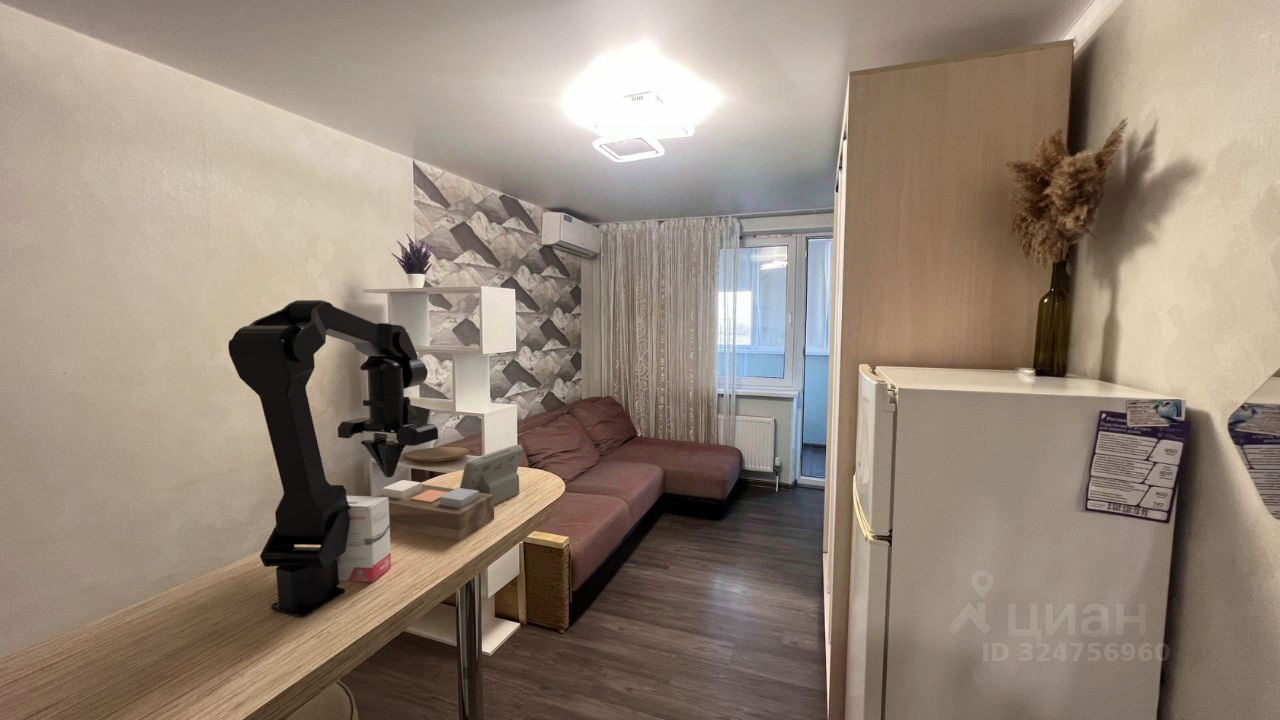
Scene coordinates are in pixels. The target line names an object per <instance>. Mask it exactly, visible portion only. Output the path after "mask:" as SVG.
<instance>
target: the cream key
mask: <svg viewBox="0 0 1280 720" xmlns="http://www.w3.org/2000/svg"><path fill="white" fill-rule="evenodd" d="M422 484H423V483H422V482H419V481H412V480H404V479H402V480H399V481H397V482H394V483H391V484H389V485H386V486H384V487H382V492H383V496H385V497H391V498H397V499H405V498H407V497H409V496H411V495H413V494H415V493H418V492H420V491H422Z"/></svg>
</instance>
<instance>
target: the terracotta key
mask: <svg viewBox="0 0 1280 720" xmlns="http://www.w3.org/2000/svg"><path fill="white" fill-rule="evenodd" d="M446 493H448V492H443V491H437V490H428V491H426V492H423V493H421V494H419V495H417V496H415V497H413V498H411V501H416V502H422V503H429V504H433V503H435V502H437V501H439V500H440V496H442V495H444V494H446Z"/></svg>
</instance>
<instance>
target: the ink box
mask: <svg viewBox="0 0 1280 720" xmlns="http://www.w3.org/2000/svg"><path fill="white" fill-rule="evenodd" d="M346 496H347V502H348V504H349V506H350V509H349V510H348V512H349V516H350V525H349V531H348V537H347V544H346V550H345V552H344V553H343V554H342V555H341V556H339V557H338V558H337V560H338V575H339V581H341V582H342V581H344V582H345V581H346V582H365V583H374V582H375V581H376V580H377V579H379V578H380V576H382V575H383V574H384V573H385V572H387V571H388V570H389V569H390V568H391V567H392V560H391V559H392V557H391V528H390V524H389V498H388V497H372V496H369V495H367V496H366V495H346Z"/></svg>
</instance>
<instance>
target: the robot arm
mask: <svg viewBox="0 0 1280 720" xmlns="http://www.w3.org/2000/svg"><path fill="white" fill-rule="evenodd" d="M327 336H329V337H332V338H335V339H338V340H341V341H345V342H347V343H351V344H353V345H354V348H355V350H356V351H358V352H360V353H362V355H365V356H367V359H366V361H364V362H363V363H362V364H361V365H360V368H359V369H360V370H361V371H367V372H366V375H367V393H368V395H367V396H368V399H363V400H362V405H363V406H364V407H368V417H359V418H355V419H350V420H349V419H348V420H344V421H342V422H340V424H339V426H338V427H337V437H338V438H340V439H352V438H353V436H354V435H355V434H363V435H364V436H363V437H364V440H361V441H360V445H362V446H364V447H365V449H366V450H367V451H368V452H369V454H370V456H371V457H372V458H373V460H374V461H375V462H376V464H377V466H378V467H379V468H380V470H381V472H382V474H383V475H384V477H385V478H392V477H394V475H395V473H396V469H397V467H398V464H399V461H400V458H401V456H402V452H403V451H404V448H405V447H406V446H409V447H413V446H419V445H421V444H423V445H424V444H426V443H429V442H431V441H435V440H438V439H439V429H438V426H437V425H435V423H428V422H429V416H430V413H431V409H430V408H425V407H422V406H418V405H413V404H411V398H410V397H409V396H405V395H404V393H405V392H404V390H405V389H408V388H412V387H416V386H419V385H422V384H423V383H424V382H425V381H426V380H427V377H428V368H427V366H426V364H425V363H424V362H423V361H422V360H420V359H419V356H418V353H417V351H416V349H415V347H414V344H413V341H412V339H411V337H410V335H409V333H408V332H407V329H406V328H405V327H404V326H403V325H402V324H399V323H398V324H397V323H389V322H388V323H387V322H374V321H371V320H369V319H366V318H363V317H361V316H358V315H356V314H354V313H352V312H349V311H347V310H345V309H342V308H339V307H337V306H335V305H333V304H332V303H331V302H329V301H326V300H321V299H318V300H317V299H315V300H314V299H310V300H309V299H307V300H306V299H302V300H301V299H297V300H294V301H291V302H289V303H288V304H287V305H285V306H284V307H283V308H282V309H280V310H277V311H275V312H273V313H270V314H267V315H265V316H263V317H260V318H258V319H256V320H254V321H252V322H251V323H250V324H249V325H245V326H242V327H240V328H239V329H237V331H236V332H235V333H234V334H233V336H232V338H231V339H230V340H229V342H228V354H229V357H230V359H231V361H232V364H233V366H234V368H235V370H236V373H237V375H238V377H239V379H241V381H242V382H244V384H246V385H247V387H249V388H250V389H251V390H252V391H254V393H255V394H257V395H258V397H259V400H260V403H261V407H262V410H263V411H262V412H263V414H264V415H263V416H264V419H265V423H266V426H267V430H268V434H269V438H270V442H271V446H272V450H273V455H274V459H275V462H276V467H277V470H278V475H279V478H280V482H281V486H282V490H283V495H282V497H281V499H280V501H279V503H278V505H277V508H276V509H275V510H274V511H275V512H274V516H275V518H274V519H275V526H274V528H273V530H272V532H271V534H270V536H269V538H268V540H267V541H266V544H265V545H264V547H263V549H262V551H261V552H260V555H259V558H260V560H261V562H262V564H263V567H265V568H266V567H267V568H269V567H276V568H275V572H276V587H277V588H276V589H277V599H278V600H277V601H275V602H273V603H271V604H270V609H271V610H275V611H277V612H280V613H285V614H287V615H290V616H295V617H298V618H305V617H307V616H308V615H310V614H312V613H313V612H315V611H317V610H319V609H320V608H322V607H323V606H326V605H327V604H328V603H330V602H332V601H334V600H335V599H337V598H338V597H340V596H342V595H344V594H345V593H346V589H345V588H344V587H339V584H340V580H339V575H338V560H337V558H338V557H339V556H341V555H342V554H343V553H344V552H345V550H346V544H347V537H348V531H349V525H350V516H349V512H348V510H349V509H350V506H349V504H348V502H347V496H348V495H347V489H346V488H345V486H344V485H343V484H331V483H329V482H328V480H327V479H326V474H325V470H324V466H323V460H322V457H321V456H322V455H321V451H320V448H319V447H320V446H319V444H318V443H319V442H318V439H317V434H316V430H315V425H314V421H313V415H312V412H311V406H310V403H309V402H310V401H309V398H308V393H307V384H308V383H309V381H310V378H311V376H312V374H313V372H314V370H315V366H316V362H315V354H316V353H317V352H318V351H319V350H320V349H321V348H322V347H323V346H324V345H325V344H326V342H327ZM296 545H298V546H296ZM299 545H301V546H299ZM306 545H307V546H306ZM310 546H311V547H310ZM313 546H314V547H313ZM315 546H317V547H315ZM319 546H320V547H319Z"/></svg>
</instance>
